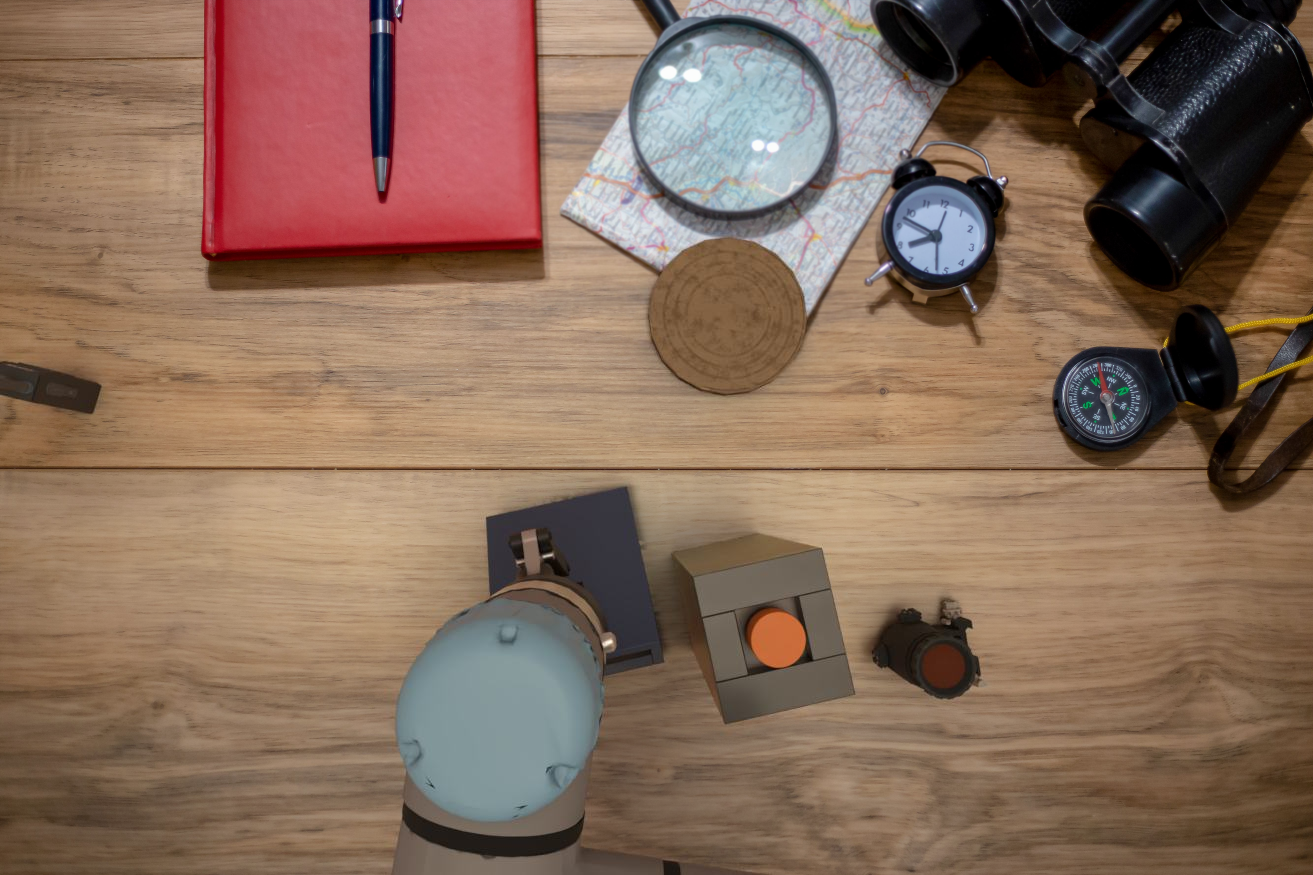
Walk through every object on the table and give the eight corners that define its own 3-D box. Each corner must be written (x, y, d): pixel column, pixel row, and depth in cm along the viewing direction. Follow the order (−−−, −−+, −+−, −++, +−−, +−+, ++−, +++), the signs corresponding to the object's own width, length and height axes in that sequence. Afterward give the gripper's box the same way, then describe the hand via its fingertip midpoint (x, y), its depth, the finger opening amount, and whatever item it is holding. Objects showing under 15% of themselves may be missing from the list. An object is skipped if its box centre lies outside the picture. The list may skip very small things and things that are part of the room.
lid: (661, 646, 68) (660, 641, 67) (496, 684, 67) (493, 678, 67) (628, 491, 80) (626, 485, 79) (487, 522, 79) (485, 516, 79)
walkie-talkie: (111, 384, 88) (-40, 349, 68) (101, 416, 88) (-54, 390, 68) (65, 372, 88) (-100, 334, 68) (55, 404, 88) (-114, 375, 68)
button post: (779, 629, 88) (855, 694, 58) (692, 649, 88) (724, 724, 58) (757, 532, 89) (822, 547, 59) (671, 551, 89) (692, 576, 59)
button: (804, 654, 59) (811, 661, 57) (752, 666, 59) (757, 673, 57) (792, 602, 59) (799, 606, 57) (740, 613, 59) (745, 618, 57)
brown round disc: (645, 394, 90) (646, 390, 87) (650, 242, 91) (651, 233, 88) (799, 399, 90) (805, 396, 87) (802, 248, 91) (808, 240, 88)
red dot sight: (1023, 706, 75) (908, 723, 74) (962, 675, 89) (865, 689, 88) (1008, 611, 75) (894, 627, 75) (949, 594, 89) (853, 608, 89)
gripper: (632, 756, 46) (631, 672, 70) (580, 515, 47) (596, 512, 71) (492, 789, 46) (538, 693, 69) (443, 545, 47) (505, 532, 70)
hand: (567, 601), depth 70 cm, fingers closed
